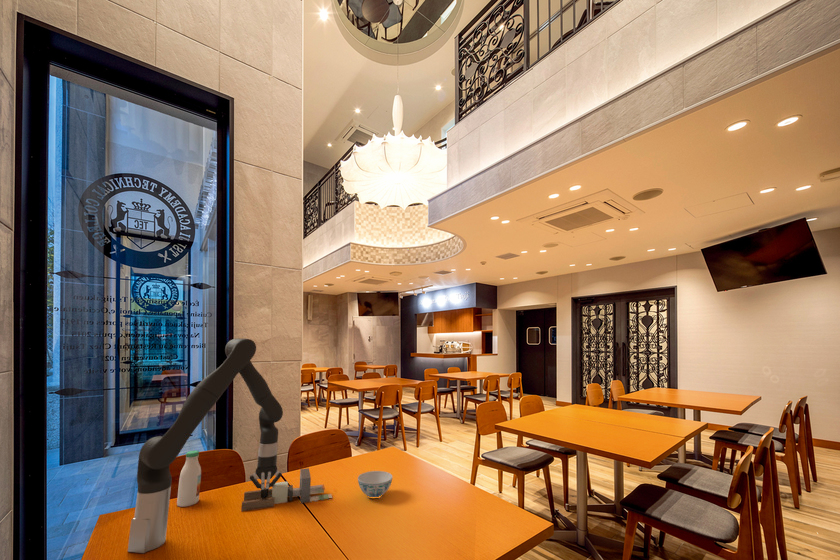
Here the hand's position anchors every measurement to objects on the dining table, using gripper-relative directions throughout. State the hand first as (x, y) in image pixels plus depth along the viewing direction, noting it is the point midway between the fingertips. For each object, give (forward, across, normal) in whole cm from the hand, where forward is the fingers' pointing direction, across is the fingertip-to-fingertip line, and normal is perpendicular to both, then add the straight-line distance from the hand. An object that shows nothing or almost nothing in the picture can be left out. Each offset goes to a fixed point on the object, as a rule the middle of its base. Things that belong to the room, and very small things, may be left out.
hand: (264, 498), depth 153 cm
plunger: (+1, +17, -1) cm, 17 cm away
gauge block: (+2, +6, 0) cm, 6 cm away
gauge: (+2, +9, 0) cm, 10 cm away
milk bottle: (+2, -29, +10) cm, 31 cm away
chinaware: (+1, +45, -10) cm, 46 cm away
